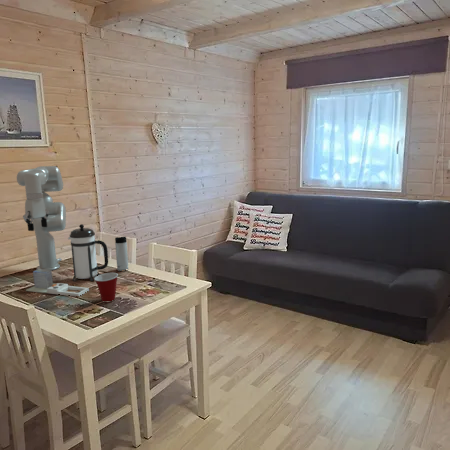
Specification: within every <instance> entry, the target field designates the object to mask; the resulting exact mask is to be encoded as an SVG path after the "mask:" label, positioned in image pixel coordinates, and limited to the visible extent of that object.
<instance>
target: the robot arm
mask: <svg viewBox="0 0 450 450" xmlns="http://www.w3.org/2000/svg"><path fill="white" fill-rule="evenodd" d="M16 182H17V184H18V185H19V186H20V187H24V188H25V196H26V197H25V198H26V200H25V202H24V212H25V213H24V214H23V216H22V219H24V222H26V223H25V224H27V230H28V231H29V232H34V235H35V240H36V247H37V248H36V249H37V257H38V266H37V267H36V270H38V269H44V270H51V271H55V270H57V269H59V268H60V267H61V266H60V263H59V262H61V261H62V257H59V258H57V254H56V253H57V252H56V243H55V238H54V236H53V235H52V233H50V232H61V231H64V230H65V229H66V226H67V219H66V218H67V212H66V211H67V210H66V206H65V204H64V203H63V202H60V201H57V202H56V201H55V202H54V199H53V198H52V197H51V195H49V194H48V193H47V192H49V193H50V192H60V191H62V190H63V189H64V181H63V177H62V173H61V170H60V169H59V168H58V166H56V165H48V166H47V165H46V166H45V165H44V166H41V165H40V166H37V167H35V168H30V169H23V170H20V171H18V172H17V174H16Z"/></svg>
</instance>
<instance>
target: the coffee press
mask: <svg viewBox="0 0 450 450" xmlns="http://www.w3.org/2000/svg"><path fill="white" fill-rule="evenodd" d="M95 235H96V232H95V231H94V230H93V229H92V228H88V227H84V224H82V223H81V224H80V225H79V228H76V229H73V230H72V231H71V232H70V234H69V237H68V238H67V240H70V247H71V255H72V256H71V257H72V265H73V266H72V267H73V277H72V282H77V280H79V279H82V280H83V279H84V280H85V279H89V280H90V282H95V280H94V278H95V277H96V276H97V275H100V273H99V271H100V270H104V269H106V268H107V267H108V264H109V255H108V254H109V253H108V246H107V244H106V243H105V242H104V241H102V240H99V239H98V240H96V238H95ZM96 244H97V245H100V246H102V249H103V257H104V264H103V265H100V266H99V265H98V263H97V252H96ZM98 270H99V271H98Z"/></svg>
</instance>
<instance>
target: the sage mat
mask: <svg viewBox="0 0 450 450" xmlns="http://www.w3.org/2000/svg"><path fill="white" fill-rule="evenodd" d="M57 283H58V282H57ZM57 283H55V282H53V284H57ZM25 291H26V292H31V293H32V292H34V293H42V294H48V293H47V288H36V287H35V285H33V286H31V287H29V288H26V289H25Z"/></svg>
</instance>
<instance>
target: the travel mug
mask: <svg viewBox="0 0 450 450" xmlns="http://www.w3.org/2000/svg"><path fill="white" fill-rule="evenodd" d="M114 245H115V256H116V259H115V260H116V269H117V270H118V271H117V272H120V271H122V270H126V269H128V270H129V258H128V242H127V236H120V237H118V236H117V237H115V239H114Z"/></svg>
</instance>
